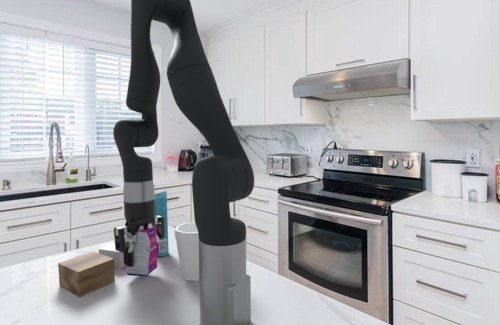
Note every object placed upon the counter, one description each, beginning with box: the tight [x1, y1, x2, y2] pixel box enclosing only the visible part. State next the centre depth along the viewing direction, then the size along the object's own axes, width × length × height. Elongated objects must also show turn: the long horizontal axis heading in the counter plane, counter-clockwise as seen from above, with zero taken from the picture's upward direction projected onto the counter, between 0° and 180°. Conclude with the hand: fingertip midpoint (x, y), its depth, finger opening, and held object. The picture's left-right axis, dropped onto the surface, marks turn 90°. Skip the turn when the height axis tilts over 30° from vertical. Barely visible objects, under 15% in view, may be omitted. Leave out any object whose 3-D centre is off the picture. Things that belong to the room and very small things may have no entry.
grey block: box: [98, 241, 127, 270], centre depth 91 cm, size 7×7×5 cm
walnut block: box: [57, 251, 116, 298], centre depth 79 cm, size 9×9×6 cm
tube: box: [154, 190, 170, 258], centre depth 97 cm, size 7×5×19 cm, turn 160°
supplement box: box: [125, 226, 158, 278], centre depth 82 cm, size 6×6×12 cm
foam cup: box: [174, 221, 199, 282], centre depth 83 cm, size 10×9×13 cm
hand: (142, 260), depth 82 cm, fingers closed on supplement box, 7 cm apart
